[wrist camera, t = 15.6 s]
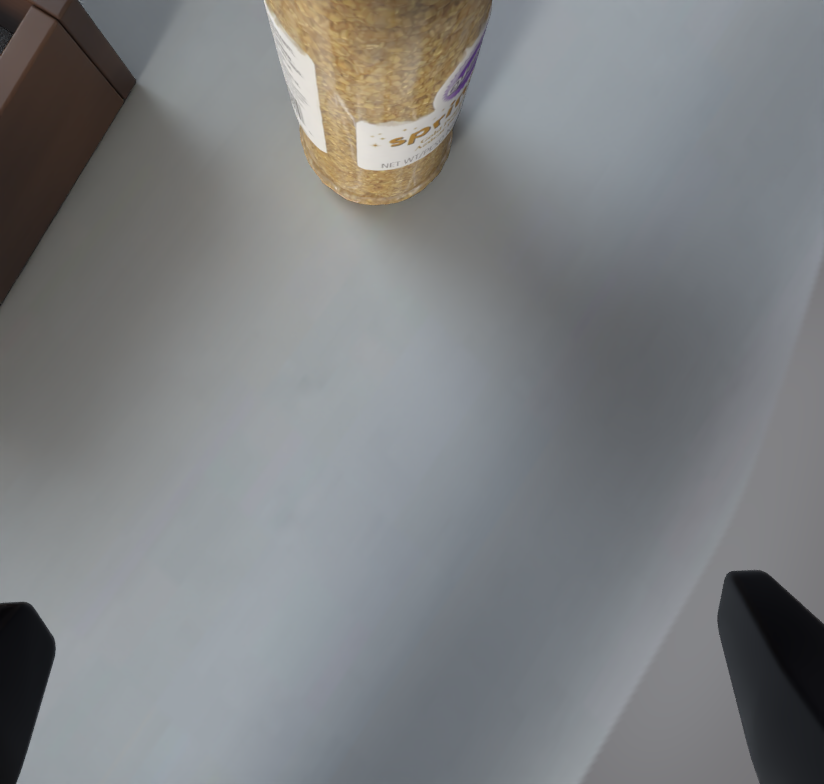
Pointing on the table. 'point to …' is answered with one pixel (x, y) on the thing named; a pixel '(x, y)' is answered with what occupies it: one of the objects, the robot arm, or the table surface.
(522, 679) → the table surface
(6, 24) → the crate
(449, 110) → the sprinkles bottle
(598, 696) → the table surface
